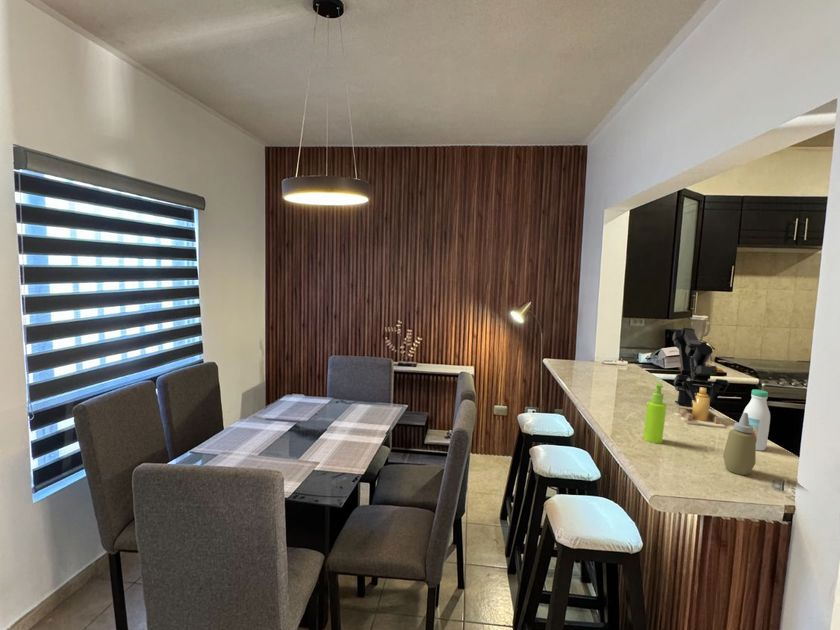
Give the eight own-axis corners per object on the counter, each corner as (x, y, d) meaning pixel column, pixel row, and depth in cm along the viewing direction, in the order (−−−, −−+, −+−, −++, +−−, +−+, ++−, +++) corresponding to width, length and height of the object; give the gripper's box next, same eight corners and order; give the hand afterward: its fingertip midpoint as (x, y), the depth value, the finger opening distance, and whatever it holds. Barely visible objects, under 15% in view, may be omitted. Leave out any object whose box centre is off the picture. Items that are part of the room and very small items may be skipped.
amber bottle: (688, 416, 189) (692, 385, 187) (700, 416, 190) (704, 386, 188) (698, 421, 183) (702, 389, 182) (710, 421, 184) (714, 389, 183)
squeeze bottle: (714, 465, 142) (722, 408, 140) (739, 465, 142) (747, 409, 140) (734, 477, 134) (743, 417, 132) (760, 477, 134) (769, 418, 132)
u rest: (674, 413, 194) (675, 406, 194) (710, 417, 192) (711, 410, 192) (687, 424, 181) (688, 416, 180) (726, 428, 178) (727, 420, 178)
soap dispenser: (659, 437, 163) (666, 382, 161) (663, 444, 156) (670, 387, 154) (641, 434, 165) (648, 380, 163) (644, 441, 158) (651, 384, 156)
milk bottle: (756, 443, 163) (764, 388, 161) (771, 452, 156) (779, 394, 153) (733, 441, 164) (741, 387, 162) (747, 450, 156) (755, 392, 154)
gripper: (678, 355, 190) (682, 387, 181) (730, 360, 185) (736, 394, 175) (672, 369, 198) (675, 401, 189) (721, 375, 193) (726, 408, 184)
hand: (702, 401), depth 184 cm, fingers open, 6 cm apart
